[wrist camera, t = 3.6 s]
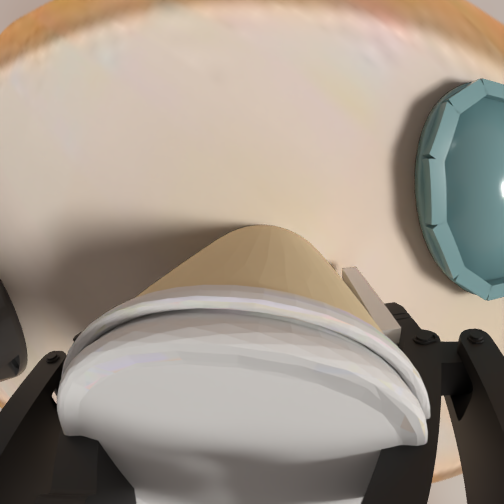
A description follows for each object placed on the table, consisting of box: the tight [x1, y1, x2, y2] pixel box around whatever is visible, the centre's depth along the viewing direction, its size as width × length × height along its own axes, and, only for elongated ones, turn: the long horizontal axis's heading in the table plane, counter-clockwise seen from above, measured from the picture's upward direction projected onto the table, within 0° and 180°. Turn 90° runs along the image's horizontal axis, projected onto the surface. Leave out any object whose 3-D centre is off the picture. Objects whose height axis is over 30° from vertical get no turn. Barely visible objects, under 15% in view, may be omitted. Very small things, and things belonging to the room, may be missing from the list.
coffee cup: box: [57, 225, 430, 504], centre depth 11 cm, size 9×9×12 cm
